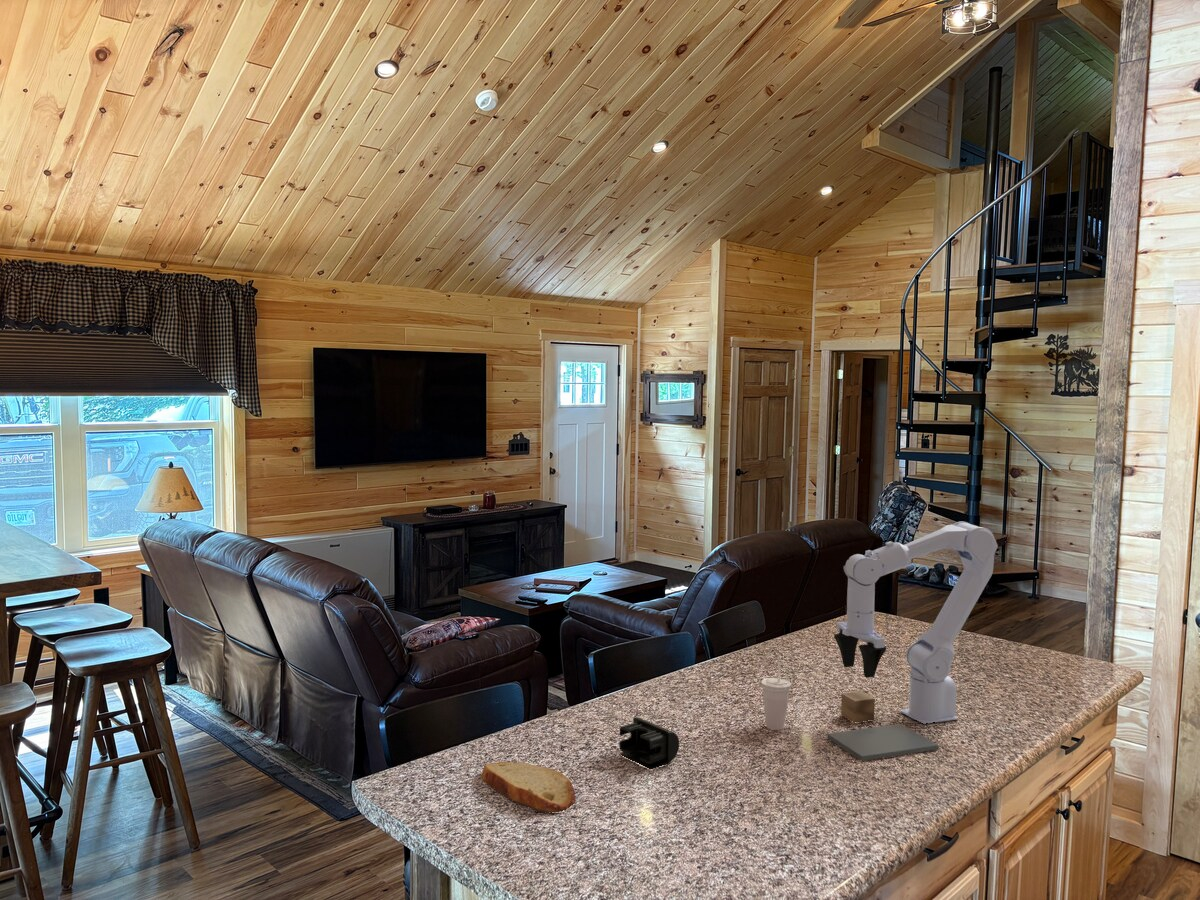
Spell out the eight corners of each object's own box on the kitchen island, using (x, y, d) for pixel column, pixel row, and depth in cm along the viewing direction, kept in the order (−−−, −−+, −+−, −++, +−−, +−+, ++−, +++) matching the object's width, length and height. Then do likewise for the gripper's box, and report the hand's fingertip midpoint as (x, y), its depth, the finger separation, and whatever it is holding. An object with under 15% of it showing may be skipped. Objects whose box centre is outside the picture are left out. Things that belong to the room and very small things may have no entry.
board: (899, 728, 192) (900, 723, 192) (938, 749, 180) (938, 745, 180) (827, 738, 186) (827, 733, 186) (862, 761, 174) (862, 756, 174)
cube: (860, 713, 201) (860, 691, 200) (874, 721, 196) (874, 698, 196) (841, 715, 199) (841, 693, 199) (854, 723, 194) (855, 701, 194)
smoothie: (790, 733, 188) (792, 668, 187) (759, 731, 189) (760, 665, 188) (790, 722, 194) (791, 659, 193) (760, 720, 196) (761, 656, 195)
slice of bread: (482, 770, 170) (482, 750, 169) (578, 771, 169) (578, 752, 169) (467, 815, 152) (467, 793, 152) (573, 817, 151) (573, 795, 151)
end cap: (679, 762, 173) (680, 728, 173) (652, 772, 169) (653, 737, 168) (644, 746, 181) (644, 713, 180) (617, 755, 176) (618, 722, 176)
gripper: (825, 604, 201) (824, 663, 202) (865, 619, 188) (863, 683, 189) (852, 601, 204) (851, 660, 205) (893, 617, 190) (891, 680, 191)
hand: (858, 671), depth 197 cm, fingers open, 7 cm apart
